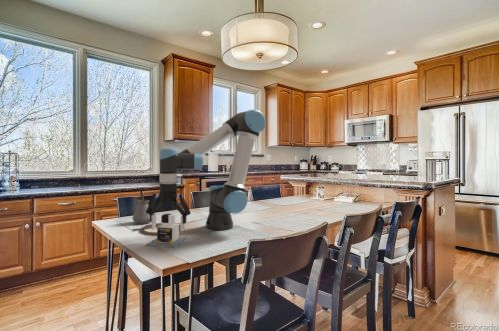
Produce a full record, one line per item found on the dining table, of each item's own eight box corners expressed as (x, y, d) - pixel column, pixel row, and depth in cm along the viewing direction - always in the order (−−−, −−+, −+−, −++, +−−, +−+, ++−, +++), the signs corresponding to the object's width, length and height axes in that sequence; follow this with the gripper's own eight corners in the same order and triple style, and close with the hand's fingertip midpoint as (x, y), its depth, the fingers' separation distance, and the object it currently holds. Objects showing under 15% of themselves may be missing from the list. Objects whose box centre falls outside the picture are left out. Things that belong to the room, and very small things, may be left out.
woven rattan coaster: (187, 225, 155) (187, 223, 155) (172, 236, 135) (172, 233, 135) (153, 224, 158) (153, 222, 158) (132, 233, 138) (132, 231, 138)
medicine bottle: (156, 242, 123) (157, 215, 123) (164, 237, 130) (164, 212, 130) (172, 243, 122) (172, 216, 122) (178, 238, 129) (179, 213, 129)
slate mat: (188, 238, 132) (188, 237, 132) (176, 247, 118) (176, 246, 118) (160, 236, 134) (160, 235, 134) (145, 245, 120) (145, 244, 120)
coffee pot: (154, 224, 159) (154, 197, 158) (132, 225, 154) (132, 198, 154) (152, 216, 178) (152, 192, 178) (133, 217, 174) (133, 193, 174)
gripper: (197, 182, 127) (197, 229, 128) (146, 181, 131) (146, 226, 131) (192, 184, 120) (191, 233, 121) (137, 182, 123) (137, 230, 124)
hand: (168, 229), depth 126 cm, fingers open, 13 cm apart
